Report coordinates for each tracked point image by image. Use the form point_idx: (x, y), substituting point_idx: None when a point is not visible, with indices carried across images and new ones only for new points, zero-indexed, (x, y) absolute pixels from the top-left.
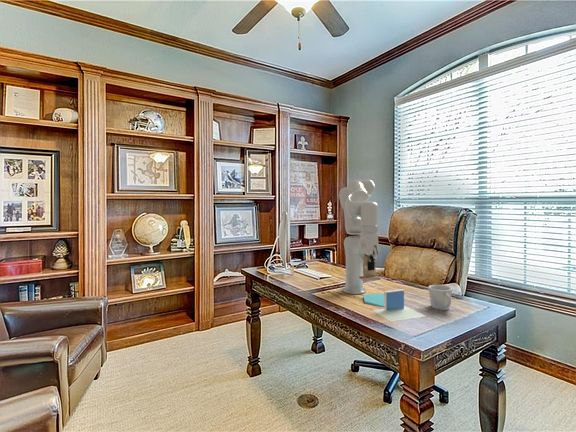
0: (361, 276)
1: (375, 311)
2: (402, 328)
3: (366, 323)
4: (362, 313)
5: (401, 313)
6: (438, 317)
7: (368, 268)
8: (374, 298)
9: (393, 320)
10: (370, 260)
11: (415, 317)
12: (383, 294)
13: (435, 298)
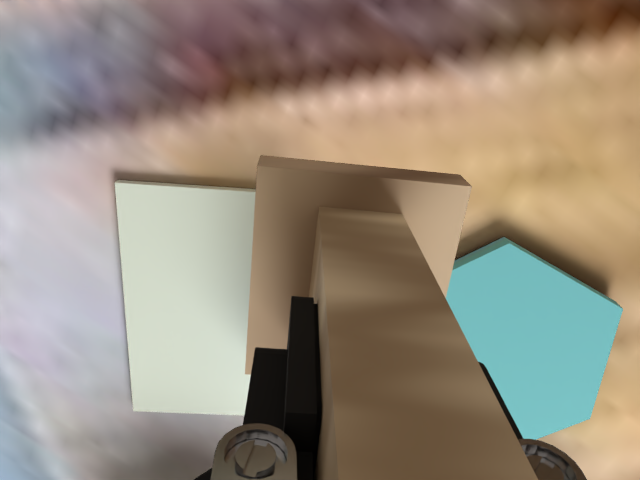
0: (400, 183)
1: None
2: (14, 188)
3: (161, 10)
4: (352, 107)
5: (222, 326)
6: (121, 454)
7: (292, 318)
8: (521, 336)
9: (128, 210)
10: (215, 477)
11: (135, 353)
12: (552, 427)
13: None
